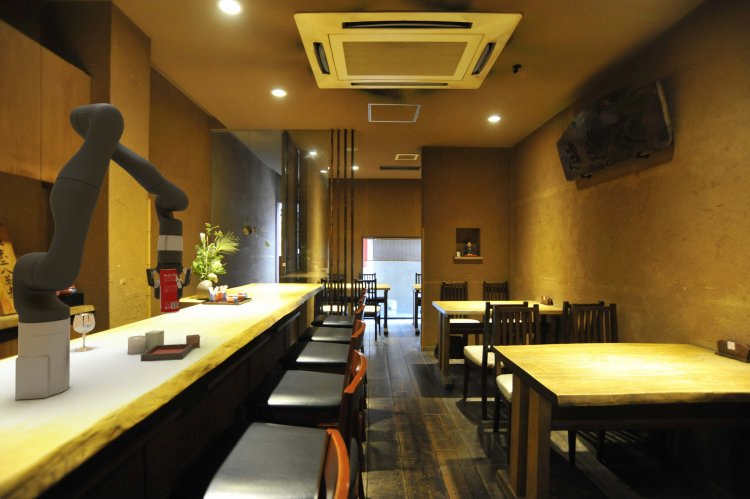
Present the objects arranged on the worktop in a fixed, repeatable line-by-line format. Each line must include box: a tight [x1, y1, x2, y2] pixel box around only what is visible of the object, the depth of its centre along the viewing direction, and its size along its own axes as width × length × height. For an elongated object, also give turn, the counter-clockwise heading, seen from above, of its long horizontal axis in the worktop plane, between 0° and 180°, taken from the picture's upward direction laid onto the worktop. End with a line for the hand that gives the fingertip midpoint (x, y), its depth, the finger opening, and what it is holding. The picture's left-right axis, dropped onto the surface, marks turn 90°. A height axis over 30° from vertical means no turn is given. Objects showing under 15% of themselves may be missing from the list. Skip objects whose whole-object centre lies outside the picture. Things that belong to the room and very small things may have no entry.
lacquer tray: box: [140, 343, 193, 362], centre depth 118 cm, size 12×12×2 cm
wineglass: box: [72, 312, 96, 352], centre depth 124 cm, size 6×6×12 cm
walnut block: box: [185, 334, 201, 349], centre depth 128 cm, size 4×4×4 cm
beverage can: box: [158, 269, 181, 315], centre depth 124 cm, size 6×6×15 cm
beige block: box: [127, 335, 146, 356], centre depth 121 cm, size 5×5×5 cm
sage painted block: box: [144, 329, 165, 351], centre depth 125 cm, size 4×4×6 cm
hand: (168, 299), depth 124 cm, fingers closed on beverage can, 5 cm apart
